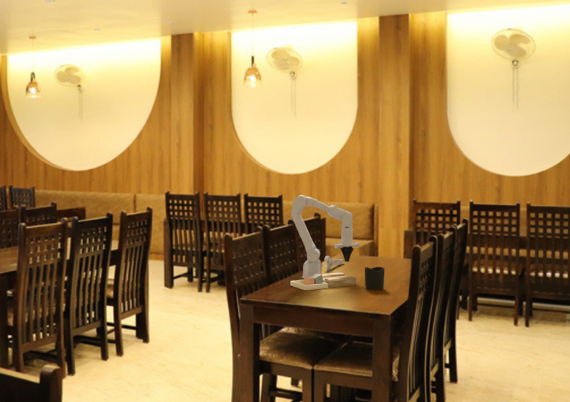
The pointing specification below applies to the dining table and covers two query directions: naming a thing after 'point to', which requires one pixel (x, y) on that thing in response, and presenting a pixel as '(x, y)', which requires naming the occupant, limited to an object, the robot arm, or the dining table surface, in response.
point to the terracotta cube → (308, 281)
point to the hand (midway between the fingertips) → (346, 261)
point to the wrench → (332, 262)
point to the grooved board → (338, 280)
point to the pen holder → (374, 278)
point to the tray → (308, 287)
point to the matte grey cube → (317, 278)
